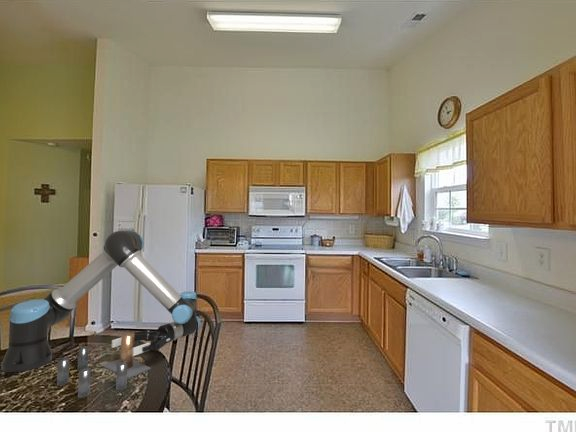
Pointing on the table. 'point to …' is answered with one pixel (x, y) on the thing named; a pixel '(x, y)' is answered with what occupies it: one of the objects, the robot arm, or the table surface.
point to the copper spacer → (127, 349)
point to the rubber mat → (132, 371)
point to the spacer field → (87, 373)
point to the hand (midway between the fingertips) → (122, 348)
